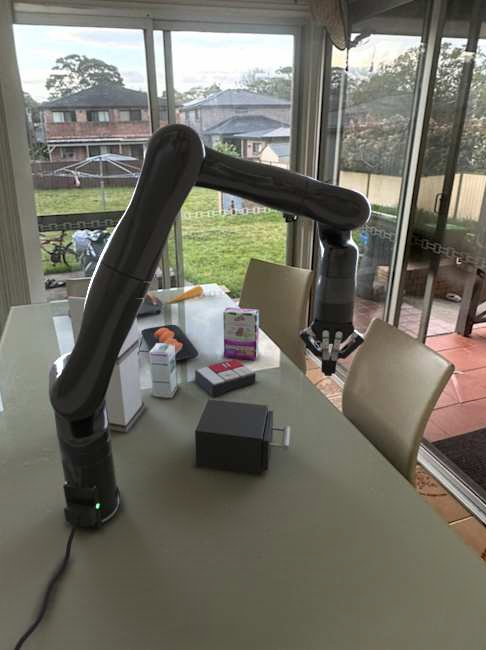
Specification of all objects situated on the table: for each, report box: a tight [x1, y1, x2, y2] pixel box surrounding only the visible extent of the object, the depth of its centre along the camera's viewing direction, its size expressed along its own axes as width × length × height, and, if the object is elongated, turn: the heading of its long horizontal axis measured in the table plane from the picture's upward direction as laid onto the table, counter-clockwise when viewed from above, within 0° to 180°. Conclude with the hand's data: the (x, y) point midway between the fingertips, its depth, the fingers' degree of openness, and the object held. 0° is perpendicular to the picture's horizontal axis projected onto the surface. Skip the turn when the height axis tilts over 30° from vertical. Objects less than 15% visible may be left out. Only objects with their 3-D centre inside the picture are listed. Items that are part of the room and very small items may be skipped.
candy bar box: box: [223, 307, 260, 361], centre depth 146 cm, size 11×5×16 cm, turn 76°
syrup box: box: [148, 343, 178, 399], centre depth 125 cm, size 6×6×14 cm
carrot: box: [166, 285, 204, 304], centre depth 202 cm, size 20×4×4 cm, turn 130°
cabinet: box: [194, 399, 269, 476], centre depth 102 cm, size 15×13×10 cm
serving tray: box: [67, 291, 164, 319], centre depth 185 cm, size 39×23×6 cm, turn 119°
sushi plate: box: [137, 324, 199, 362], centre depth 153 cm, size 29×30×4 cm
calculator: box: [194, 358, 257, 398], centre depth 132 cm, size 11×4×15 cm
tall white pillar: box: [67, 295, 145, 433], centre depth 110 cm, size 11×11×35 cm
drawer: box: [262, 410, 292, 471], centre depth 101 cm, size 18×11×8 cm, turn 78°
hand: (328, 374), depth 91 cm, fingers closed
